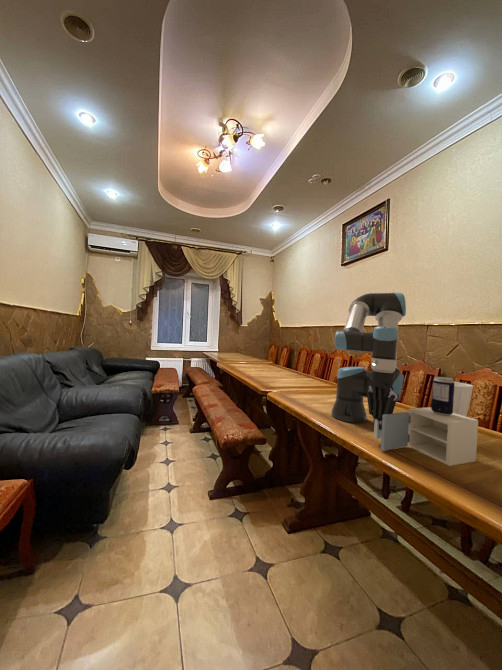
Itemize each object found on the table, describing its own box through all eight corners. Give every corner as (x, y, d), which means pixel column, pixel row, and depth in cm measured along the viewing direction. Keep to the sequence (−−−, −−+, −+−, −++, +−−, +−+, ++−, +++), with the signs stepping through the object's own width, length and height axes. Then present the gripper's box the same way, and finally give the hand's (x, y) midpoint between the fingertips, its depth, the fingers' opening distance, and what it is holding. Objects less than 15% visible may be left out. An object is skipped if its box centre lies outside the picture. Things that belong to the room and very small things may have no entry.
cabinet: (406, 445, 90) (409, 408, 90) (431, 442, 94) (433, 407, 94) (449, 465, 77) (451, 422, 76) (475, 461, 80) (478, 420, 80)
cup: (475, 443, 95) (479, 385, 95) (462, 449, 89) (466, 387, 89) (440, 432, 105) (443, 379, 105) (426, 437, 99) (429, 381, 99)
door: (377, 448, 85) (379, 413, 85) (403, 442, 91) (405, 410, 91) (383, 451, 83) (385, 415, 83) (409, 445, 89) (411, 412, 89)
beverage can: (456, 417, 82) (458, 380, 81) (436, 415, 83) (438, 378, 83) (446, 412, 87) (448, 377, 87) (428, 410, 88) (430, 375, 88)
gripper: (360, 367, 95) (356, 431, 95) (389, 373, 82) (384, 446, 83) (376, 368, 97) (372, 430, 97) (407, 374, 85) (402, 445, 85)
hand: (378, 437), depth 90 cm, fingers closed
